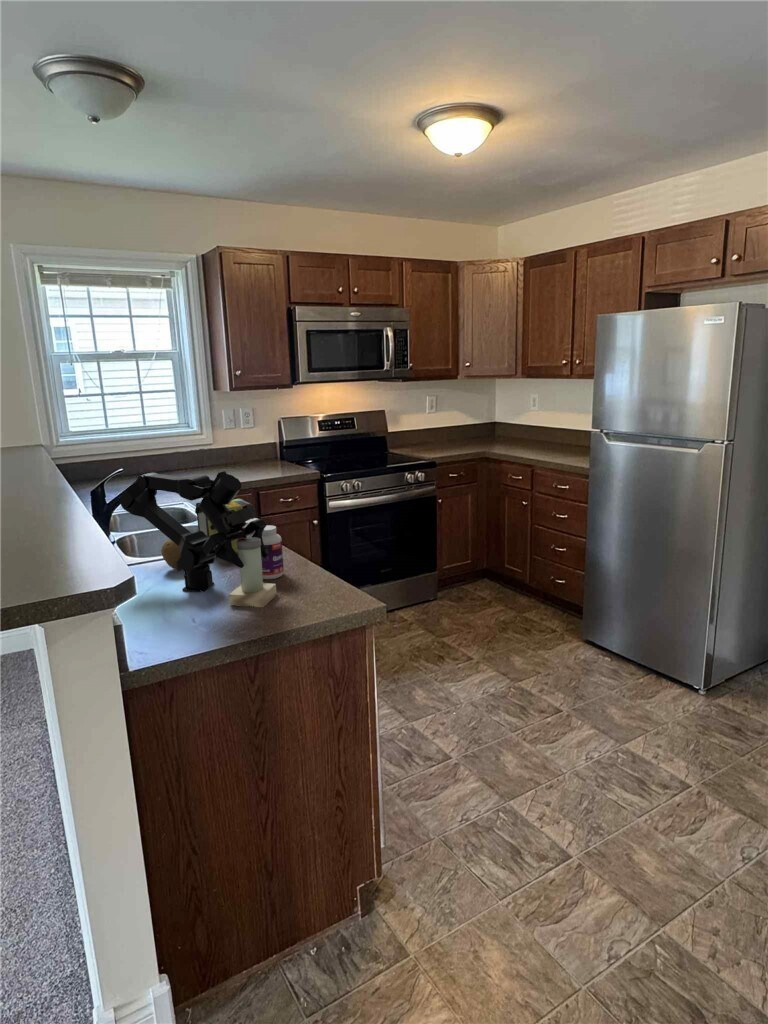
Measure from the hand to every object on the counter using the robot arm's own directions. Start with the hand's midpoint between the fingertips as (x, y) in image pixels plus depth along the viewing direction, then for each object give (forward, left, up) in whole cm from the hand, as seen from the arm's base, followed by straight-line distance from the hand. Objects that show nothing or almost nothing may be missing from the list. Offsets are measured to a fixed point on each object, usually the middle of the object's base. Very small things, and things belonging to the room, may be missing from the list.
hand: (254, 561), depth 160 cm
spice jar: (-1, 0, -7) cm, 8 cm away
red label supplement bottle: (-14, +27, -11) cm, 33 cm away
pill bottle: (-4, +18, -11) cm, 22 cm away
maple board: (-1, 0, -11) cm, 11 cm away
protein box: (-28, +40, -11) cm, 51 cm away
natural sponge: (-34, +20, -11) cm, 41 cm away
